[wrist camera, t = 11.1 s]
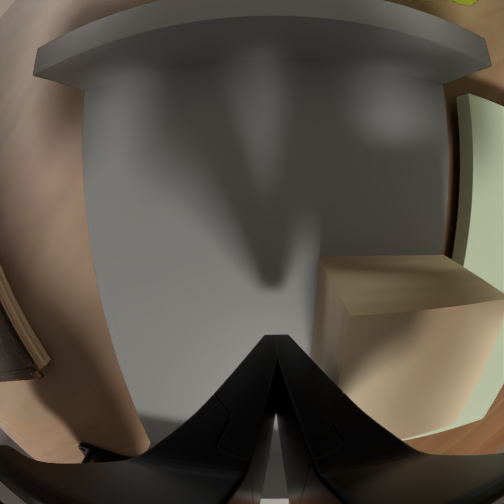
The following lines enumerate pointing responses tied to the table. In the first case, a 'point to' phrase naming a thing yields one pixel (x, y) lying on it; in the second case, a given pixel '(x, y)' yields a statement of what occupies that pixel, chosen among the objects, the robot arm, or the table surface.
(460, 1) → the soap dispenser
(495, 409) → the table surface
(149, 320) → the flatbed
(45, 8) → the table surface
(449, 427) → the panel
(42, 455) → the table surface
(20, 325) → the hardcover book
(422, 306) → the beech block
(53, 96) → the table surface
